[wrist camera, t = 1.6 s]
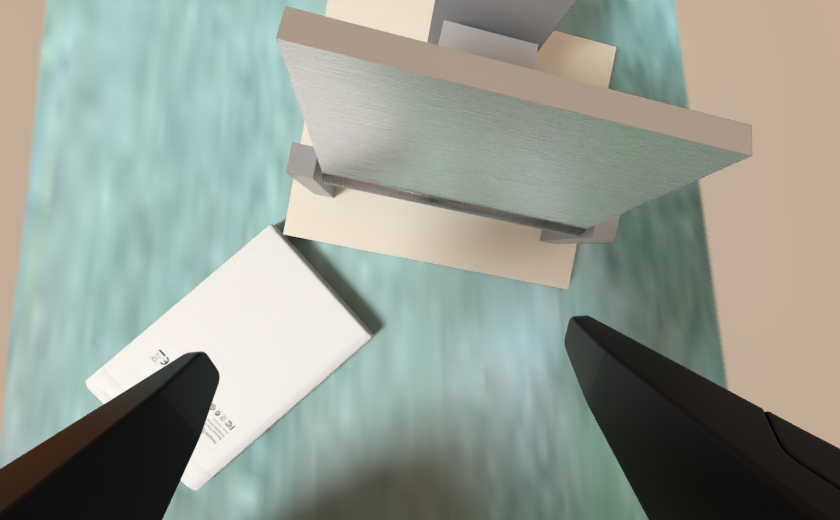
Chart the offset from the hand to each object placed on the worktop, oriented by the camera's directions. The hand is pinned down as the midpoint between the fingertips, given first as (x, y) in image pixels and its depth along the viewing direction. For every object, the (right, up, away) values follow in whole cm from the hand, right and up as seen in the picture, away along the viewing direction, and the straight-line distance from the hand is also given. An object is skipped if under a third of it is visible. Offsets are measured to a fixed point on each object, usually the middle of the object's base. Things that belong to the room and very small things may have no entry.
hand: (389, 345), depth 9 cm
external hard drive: (-9, -3, +11) cm, 15 cm away
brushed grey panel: (+2, +5, +6) cm, 8 cm away
